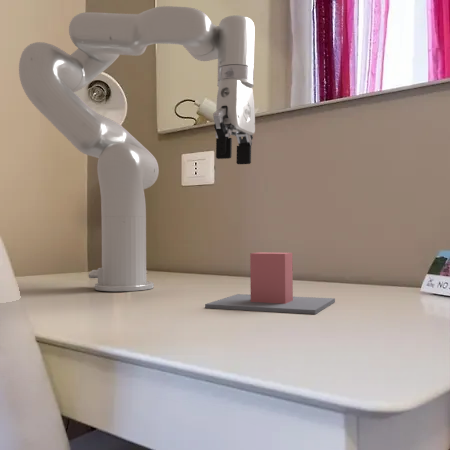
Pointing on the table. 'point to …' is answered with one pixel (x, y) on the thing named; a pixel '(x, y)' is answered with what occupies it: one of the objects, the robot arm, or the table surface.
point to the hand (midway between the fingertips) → (234, 161)
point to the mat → (273, 304)
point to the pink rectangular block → (271, 277)
